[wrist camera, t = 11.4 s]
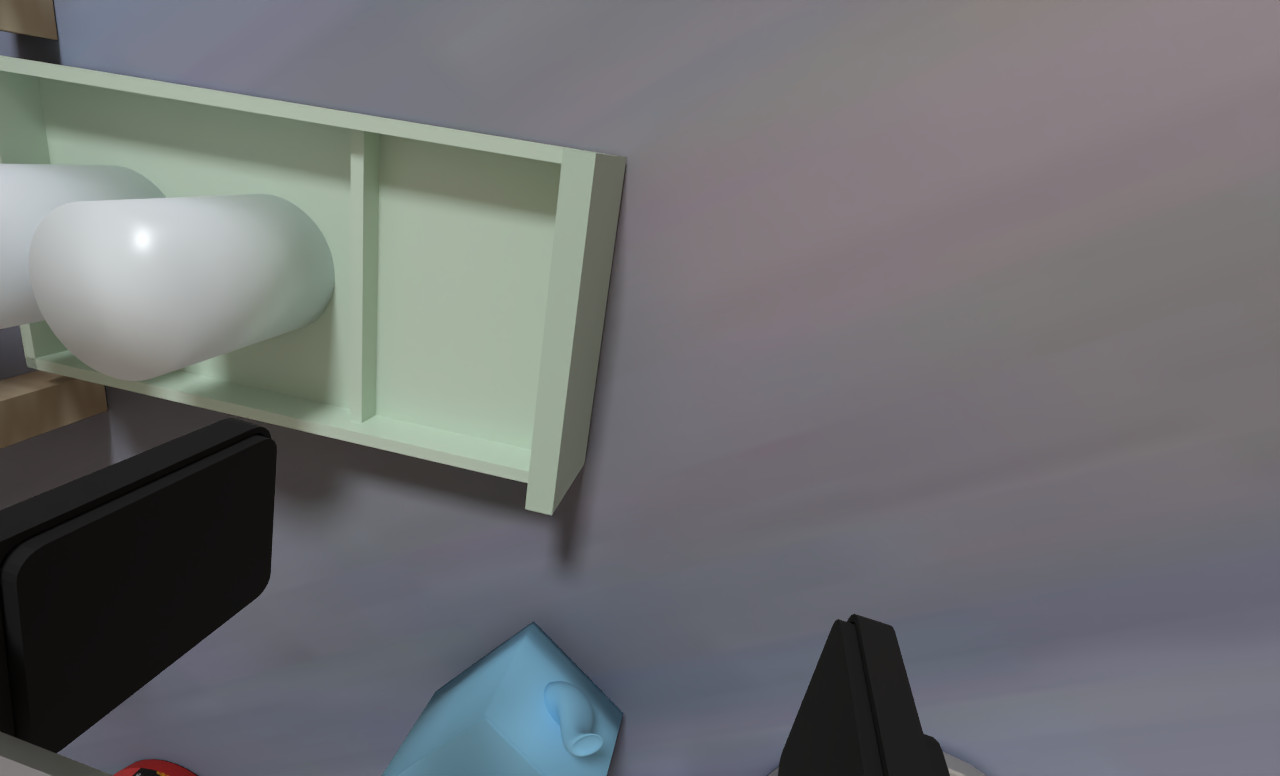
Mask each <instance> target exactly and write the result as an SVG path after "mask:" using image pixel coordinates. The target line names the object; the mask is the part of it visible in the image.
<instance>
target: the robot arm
mask: <svg viewBox="0 0 1280 776" xmlns="http://www.w3.org/2000/svg"><path fill="white" fill-rule="evenodd" d="M276 455H277V447H276V444H275V441H273V440H272V439H271V435H270V433H269V431H268V430H267V429H266V428H264V427H261V426H257V425H254V424H251V423H248V422H245V421H242V420H239V419H235V418H228V419H224V420H222V421H219V422H217V423H214V424H212V425H209V426H207V427H204V428H202V429H199V430H197V431H195V432H192V433H190V434H187V435H185V436H182V437H180V438H177V439H175V440H172V441H170V442H168V443H165V444H163V445H160V446H158V447H155V448H153V449H150V450H148V451H146V452H143V453H141V454H138V455H136V456H133V457H131V458H128V459H126V460H123V461H121V462H119V463H116V464H114V465H111V466H109V467H106V468H104V469H101V470H99V471H96V472H94V473H92V474H89V475H87V476H84V477H82V478H79V479H77V480H74V481H72V482H69V483H67V484H65V485H62V486H60V487H57V488H55V489H52V490H50V491H47V492H45V493H43V494H40V495H38V496H35V497H33V498H30V499H28V500H25V501H23V502H20V503H18V504H16V505H13V506H11V507H8V508H6V509H3V510H1V511H0V776H113V775H110V774H107V773H105V772H102V771H100V770H97V769H95V768H92V767H89V766H87V765H84V764H82V763H79V762H77V761H74V760H72V759H69V758H66V757H64V756H61V755H59V754H56V753H57V752H59V751H60V750H62V749H63V748H64V747H66V746H67V745H68V744H70V743H71V742H72V741H73V740H75V739H76V738H77V737H79V736H80V735H81V734H82V733H84V732H85V731H86V730H88V729H89V728H90V727H91V726H93V725H94V724H95V723H97V722H98V721H99V720H100V719H102V718H103V717H104V716H106V715H107V714H108V713H109V712H111V711H112V710H113V709H115V708H116V707H117V706H118V705H120V704H121V703H122V702H124V701H125V700H126V699H127V698H129V697H130V696H131V695H133V694H134V693H135V692H136V691H138V690H139V689H140V688H142V687H143V686H144V685H145V684H147V683H148V682H149V681H151V680H152V679H153V678H154V677H156V676H157V675H158V674H160V673H161V672H162V671H163V670H165V669H166V668H167V667H168V666H170V665H171V664H172V663H174V662H175V661H176V660H177V659H179V658H180V657H181V656H183V655H184V654H185V653H186V652H188V651H189V650H190V649H192V648H193V647H194V646H195V645H197V644H198V643H199V642H201V641H202V640H203V639H204V638H206V637H207V636H208V635H210V634H211V633H212V632H213V631H215V630H216V629H217V628H219V627H220V626H221V625H222V624H224V623H225V622H226V621H228V620H229V619H230V618H231V617H233V616H234V615H235V614H237V613H238V612H239V611H240V610H242V609H243V608H244V607H246V606H247V605H248V604H249V603H251V602H252V601H253V600H255V599H256V598H257V597H258V596H259V595H260V594H261V593H262V592H263V590H264V589H265V587H266V586H267V584H268V581H269V579H270V574H271V555H272V535H273V515H274V495H275V475H276ZM768 776H986V775H985V774H983V773H982V772H980V771H979V770H977V769H976V768H974V767H973V766H972V765H970V764H968V763H966V762H964V761H962V760H960V759H958V758H956V757H953V756H951V755H949V754H947V753H945V752H943V751H942V749H941V747H940V745H939V742H937V741H936V740H935V739H934V738H933V737H931V736H928V735H925V734H923V731H922V728H921V724H920V720H919V717H918V713H917V710H916V706H915V702H914V699H913V695H912V692H911V688H910V684H909V681H908V677H907V674H906V670H905V666H904V663H903V659H902V656H901V652H900V648H899V645H898V641H897V638H896V634H895V631H894V629H893V627H892V626H890V625H887V624H884V623H881V622H878V621H875V620H872V619H868V618H865V617H862V616H859V615H856V614H853V615H851V616H850V618H849V619H848V621H847V622H845V621H842V620H839V619H838V620H836V621H835V622H834V624H833V626H832V629H831V631H830V634H829V636H828V639H827V641H826V644H825V646H824V649H823V651H822V654H821V656H820V659H819V661H818V664H817V666H816V669H815V671H814V674H813V676H812V679H811V681H810V684H809V686H808V689H807V691H806V694H805V696H804V699H803V701H802V704H801V706H800V709H799V711H798V714H797V716H796V719H795V721H794V724H793V726H792V729H791V731H790V734H789V737H788V739H787V742H786V744H785V747H784V749H783V752H782V755H781V759H780V763H779V767H778V768H777V769H775V770H774V771H773V772H772V773H770V774H769V775H768Z"/></svg>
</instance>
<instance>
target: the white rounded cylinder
mask: <svg viewBox="0 0 1280 776" xmlns="http://www.w3.org/2000/svg"><path fill="white" fill-rule="evenodd" d="M148 198H166V196H165V195H164V194H163V193H162V192H161V191H160V189H159V188H158V187H157V186H156V185H154V184H153V183H152V182H151V181H150V180H148V179H147V178H146V177H144V176H143V175H141V174H139V173H138V172H136V171H133V170H131V169H129V168H125V167H121V166H114V165H57V164H0V329H4V328H9V327H14V326H19V325H24V324H29V323H34V322H39V321H44V320H45V319H44V317H43V315H42V313H41V311H40V309H39V306H38V304H37V302H36V299H35V296H34V293H33V290H32V285H31V281H30V274H29V251H30V245H31V241H32V238H33V235H34V233H35V231H36V229H37V226H38V225H39V224H40V222H41V221H42V219H43V218H44V217H45V216H46V215H47V214H48V213H49V212H51V211H52V210H54V209H55V208H57V207H59V206H62V205H64V204H67V203H71V202H77V201H101V200H124V199H148Z"/></svg>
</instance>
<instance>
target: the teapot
mask: <svg viewBox="0 0 1280 776" xmlns="http://www.w3.org/2000/svg"><path fill="white" fill-rule="evenodd" d="M622 716H623V713H622V712H621V711H620V709H619V708H618V707H617V706H616V705H615V704H614V703H613V702H612V701H611V700H610V699H609V698H608V697H607V696H606V695H605V694H604V693H603V692H602V691H601V690H600V689H599V688H598V687H597V686H596V685H595V684H594V683H593V682H592V681H591V680H590V679H589V678H588V677H587V676H586V675H585V674H584V673H583V672H582V671H581V669H580V668H579V667H578V666H577V665H576V664H575V663H574V662H573V661H572V660H571V659H570V658H569V657H568V656H567V655H566V654H565V653H564V652H563V651H562V650H561V649H560V648H559V647H558V646H557V645H556V644H555V643H554V642H553V641H552V640H551V639H550V638H549V637H548V636H547V635H546V634H545V633H544V632H543V631H542V630H541V628H540V627H539V626H538V625H537V624H536V623H535V622H532V623H531V624H529V625H528V626H527V627H525V628H524V629H522V630H521V631H519V632H518V633H517V634H515V635H514V636H512V637H511V638H510V639H508V640H507V641H505V642H504V643H503V644H501V645H500V646H498V647H497V648H496V649H494V650H493V651H491V652H490V653H489V654H487V655H486V656H484V657H483V658H482V659H480V660H479V661H477V662H476V663H475V664H473V665H472V666H470V667H469V668H468V669H466V670H465V671H463V672H462V673H461V674H459V675H458V676H456V677H455V678H454V679H452V680H451V681H450V682H448V683H447V684H445V685H444V686H443V687H441V688H440V689H438V690H437V691H436V692H435V693H434V695H433V697H432V698H431V700H430V701H429V703H428V704H427V706H426V707H425V709H424V711H423V712H422V714H421V715H420V717H419V718H418V720H417V721H416V723H415V725H414V726H413V728H412V729H411V731H410V732H409V734H408V735H407V737H406V739H405V740H404V742H403V743H402V745H401V746H400V748H399V749H398V751H397V753H396V754H395V756H394V757H393V759H392V760H391V762H390V763H389V765H388V767H387V768H386V770H385V771H384V773H383V774H382V776H607V772H608V769H609V765H610V761H611V757H612V754H613V750H614V746H615V742H616V739H617V735H618V731H619V728H620V724H621V720H622Z"/></svg>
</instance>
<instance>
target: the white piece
mask: <svg viewBox="0 0 1280 776" xmlns="http://www.w3.org/2000/svg"><path fill="white" fill-rule="evenodd" d="M29 274H30V281H31V285H32V290H33V293H34V296H35V299H36V302H37V304H38V306H39V309H40V311H41V313H42V315H43V317H44V319H45V320H46V322H47V324H48V325H49V327H50V328H51V330H52V331H53V333H54V334H55V335H56V337H57V338H58V339H59V340H60V342H61V343H62V344H63V345H64V346H65V347H66V348H67V349H68V350H69V351H70V352H71V353H72V354H73V355H74V356H76V357H77V358H78V359H79V360H81V361H82V362H83V363H85V364H86V365H88V366H89V367H91V368H93V369H94V370H96V371H98V372H100V373H102V374H105V375H107V376H110V377H113V378H116V379H121V380H127V381H142V380H148V379H151V378H155V377H158V376H161V375H164V374H167V373H170V372H172V371H175V370H178V369H181V368H184V367H187V366H190V365H193V364H196V363H199V362H202V361H205V360H208V359H211V358H214V357H217V356H220V355H223V354H226V353H229V352H232V351H234V350H237V349H240V348H243V347H246V346H249V345H252V344H255V343H258V342H261V341H264V340H267V339H270V338H273V337H276V336H279V335H282V334H285V333H288V332H291V331H293V330H296V329H299V328H302V327H305V326H307V325H309V324H311V323H313V322H314V321H315V320H317V319H318V318H319V317H320V316H321V315H322V314H323V312H324V311H325V309H326V308H327V306H328V304H329V302H330V300H331V297H332V294H333V289H334V281H335V272H334V264H333V258H332V255H331V252H330V249H329V246H328V244H327V241H326V239H325V238H324V236H323V234H322V232H321V231H320V229H319V228H318V226H317V225H316V224H315V223H314V221H313V220H312V219H311V218H310V217H309V216H308V215H307V214H306V213H305V212H304V211H303V210H301V209H300V208H299V207H297V206H296V205H294V204H293V203H291V202H289V201H287V200H285V199H283V198H280V197H277V196H274V195H269V194H242V195H218V196H195V197H171V198H148V199H124V200H101V201H77V202H71V203H67V204H64V205H62V206H59V207H57V208H55V209H54V210H52V211H51V212H49V213H48V214H47V215H46V216H45V217H44V218H43V219H42V221H41V222H40V224H39V225H38V226H37V229H36V231H35V233H34V235H33V238H32V241H31V245H30V251H29Z"/></svg>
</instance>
